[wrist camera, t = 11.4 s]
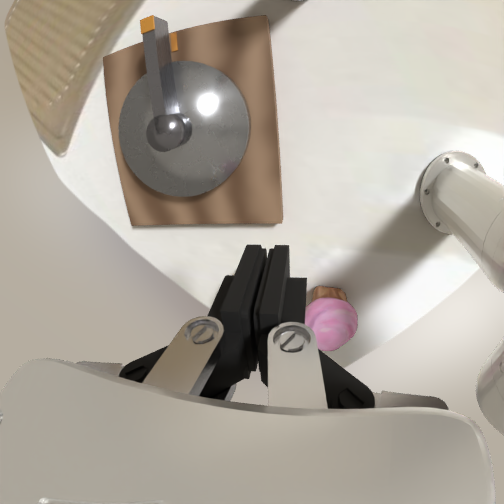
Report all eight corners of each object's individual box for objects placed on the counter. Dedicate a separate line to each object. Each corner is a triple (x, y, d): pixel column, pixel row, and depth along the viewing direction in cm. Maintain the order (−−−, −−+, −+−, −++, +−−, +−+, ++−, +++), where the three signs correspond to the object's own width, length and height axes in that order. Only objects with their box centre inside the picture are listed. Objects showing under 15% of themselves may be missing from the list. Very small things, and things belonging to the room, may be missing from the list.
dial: (258, 186, 35) (250, 202, 30) (140, 197, 39) (119, 213, 34) (235, 9, 23) (222, -6, 18) (114, 48, 27) (88, 45, 22)
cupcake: (358, 278, 42) (367, 322, 33) (346, 317, 46) (350, 361, 38) (304, 272, 43) (301, 316, 35) (297, 312, 48) (293, 357, 39)
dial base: (268, 19, 25) (266, 14, 23) (283, 217, 39) (281, 223, 37) (110, 58, 30) (102, 57, 28) (137, 220, 44) (131, 226, 42)
